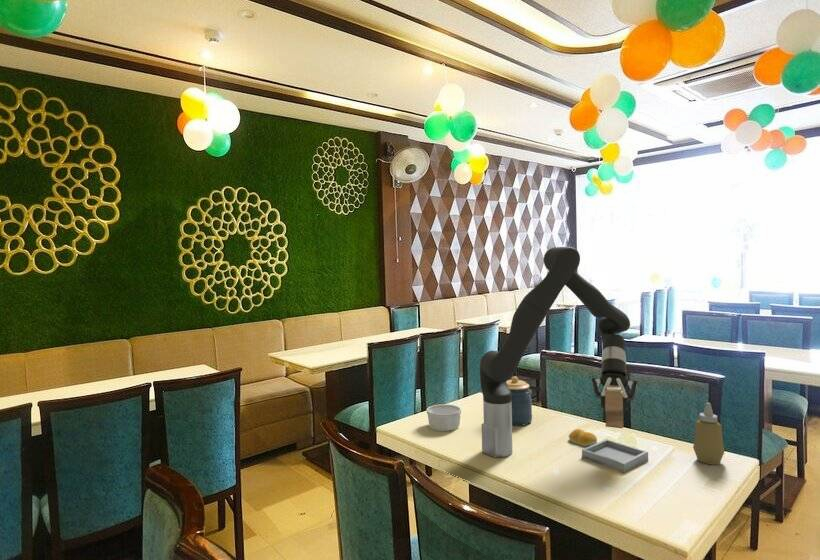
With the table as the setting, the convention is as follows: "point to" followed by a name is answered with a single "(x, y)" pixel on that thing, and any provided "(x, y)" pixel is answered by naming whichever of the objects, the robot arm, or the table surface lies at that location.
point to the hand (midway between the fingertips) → (614, 409)
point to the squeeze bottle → (708, 438)
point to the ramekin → (444, 417)
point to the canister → (520, 401)
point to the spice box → (614, 406)
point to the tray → (615, 455)
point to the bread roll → (582, 438)
